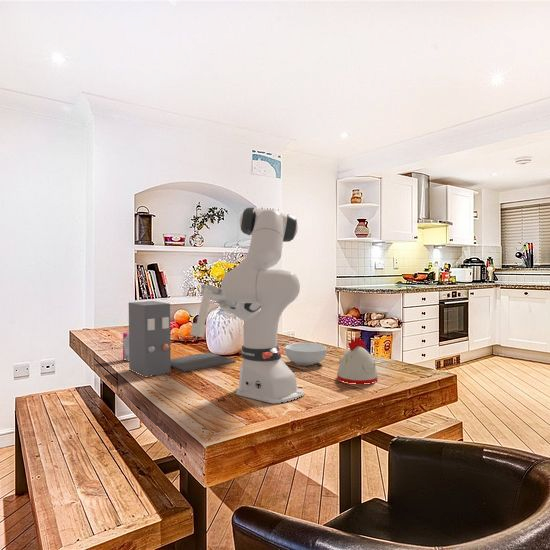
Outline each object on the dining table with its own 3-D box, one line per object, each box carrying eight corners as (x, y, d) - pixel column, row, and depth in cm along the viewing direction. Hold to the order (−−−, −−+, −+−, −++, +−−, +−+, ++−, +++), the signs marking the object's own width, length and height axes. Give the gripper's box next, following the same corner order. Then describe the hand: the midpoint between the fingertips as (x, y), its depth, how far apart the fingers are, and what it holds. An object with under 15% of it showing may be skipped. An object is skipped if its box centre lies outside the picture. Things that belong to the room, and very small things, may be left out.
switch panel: (171, 373, 156) (171, 303, 155) (146, 378, 149) (145, 305, 148) (153, 365, 167) (153, 300, 166) (129, 370, 160) (128, 302, 159)
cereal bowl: (276, 363, 170) (276, 346, 170) (302, 357, 183) (302, 341, 182) (309, 371, 159) (309, 352, 159) (334, 363, 171) (334, 346, 171)
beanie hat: (329, 378, 149) (329, 336, 149) (355, 372, 158) (356, 332, 157) (358, 387, 138) (358, 342, 138) (385, 380, 146) (385, 338, 146)
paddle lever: (214, 289, 174) (208, 288, 172) (203, 337, 171) (197, 336, 169) (206, 289, 178) (200, 287, 176) (196, 335, 175) (190, 334, 173)
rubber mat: (235, 362, 173) (235, 360, 173) (184, 372, 157) (184, 370, 157) (209, 354, 188) (209, 352, 188) (159, 362, 172) (159, 360, 172)
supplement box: (142, 359, 178) (141, 332, 177) (129, 362, 173) (128, 334, 173) (135, 357, 182) (135, 331, 181) (122, 359, 177) (122, 333, 177)
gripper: (218, 292, 191) (195, 278, 183) (245, 295, 176) (222, 280, 168) (212, 305, 189) (189, 291, 181) (239, 309, 174) (215, 294, 166)
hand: (205, 285), depth 174 cm, fingers closed on paddle lever, 3 cm apart
